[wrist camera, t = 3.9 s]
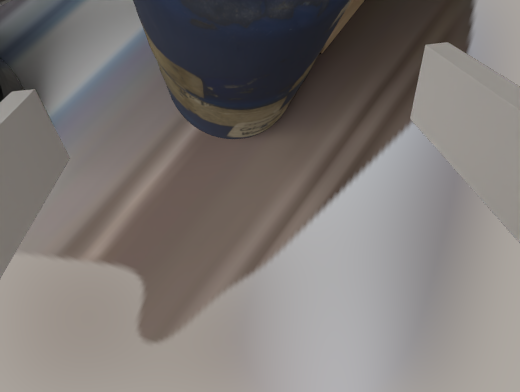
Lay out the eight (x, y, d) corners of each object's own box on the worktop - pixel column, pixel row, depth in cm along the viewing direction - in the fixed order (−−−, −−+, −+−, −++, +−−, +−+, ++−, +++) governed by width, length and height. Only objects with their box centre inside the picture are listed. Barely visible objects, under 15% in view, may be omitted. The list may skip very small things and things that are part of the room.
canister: (197, 5, 28) (154, -384, 10) (309, 53, 29) (455, -232, 11) (149, 116, 27) (7, -98, 9) (267, 163, 28) (351, 51, 10)
